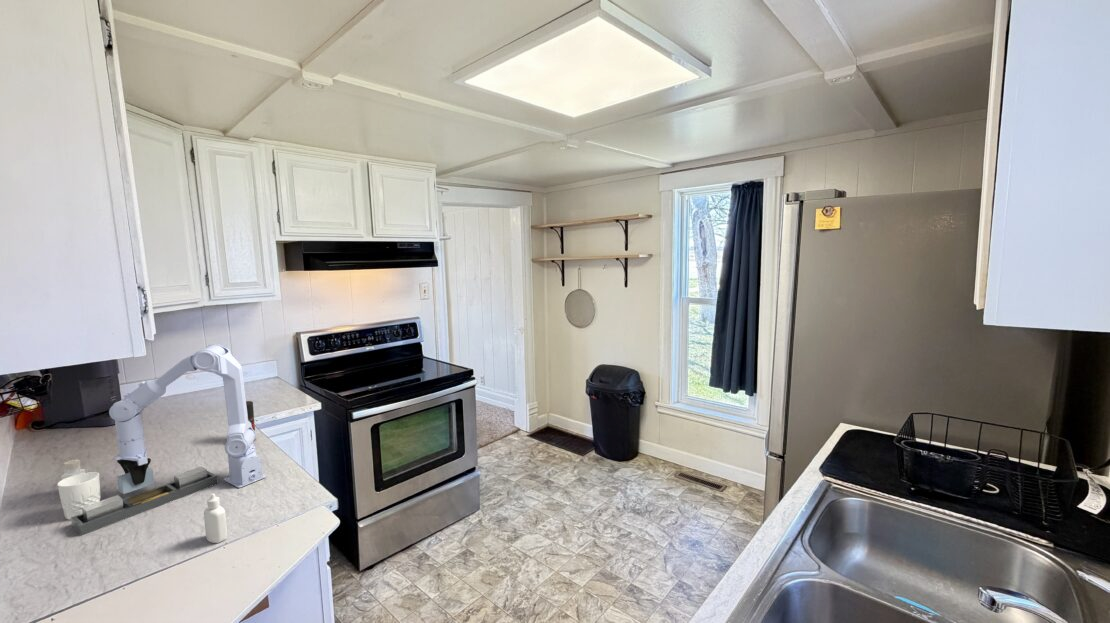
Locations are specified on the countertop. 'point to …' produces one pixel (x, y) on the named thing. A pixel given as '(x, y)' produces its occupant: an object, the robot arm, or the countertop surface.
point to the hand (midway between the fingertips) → (136, 481)
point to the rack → (141, 501)
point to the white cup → (79, 492)
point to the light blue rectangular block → (128, 485)
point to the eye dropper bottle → (215, 521)
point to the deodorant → (250, 413)
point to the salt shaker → (72, 468)
